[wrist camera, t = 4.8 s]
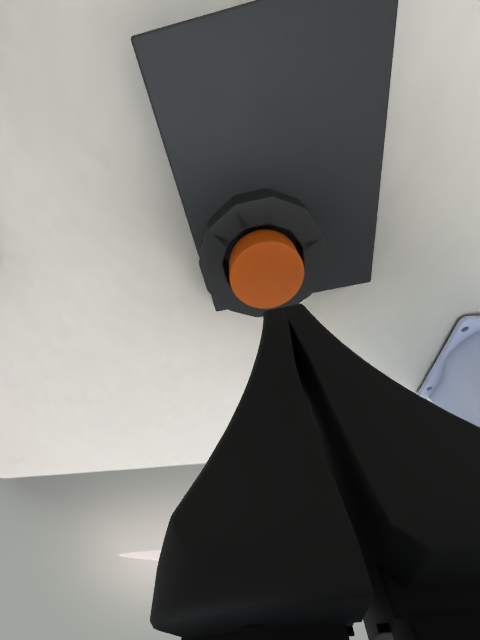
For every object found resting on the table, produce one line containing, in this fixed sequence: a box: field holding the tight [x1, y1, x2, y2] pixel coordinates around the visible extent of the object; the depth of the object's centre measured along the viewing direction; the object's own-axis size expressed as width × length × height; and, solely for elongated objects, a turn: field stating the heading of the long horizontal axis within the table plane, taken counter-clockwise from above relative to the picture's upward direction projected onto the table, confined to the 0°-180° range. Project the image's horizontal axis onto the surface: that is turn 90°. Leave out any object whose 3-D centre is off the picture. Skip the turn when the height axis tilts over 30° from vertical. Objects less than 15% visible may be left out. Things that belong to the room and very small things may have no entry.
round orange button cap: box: [229, 229, 304, 308], centre depth 14 cm, size 4×4×2 cm
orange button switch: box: [131, 0, 398, 317], centre depth 14 cm, size 13×10×3 cm
